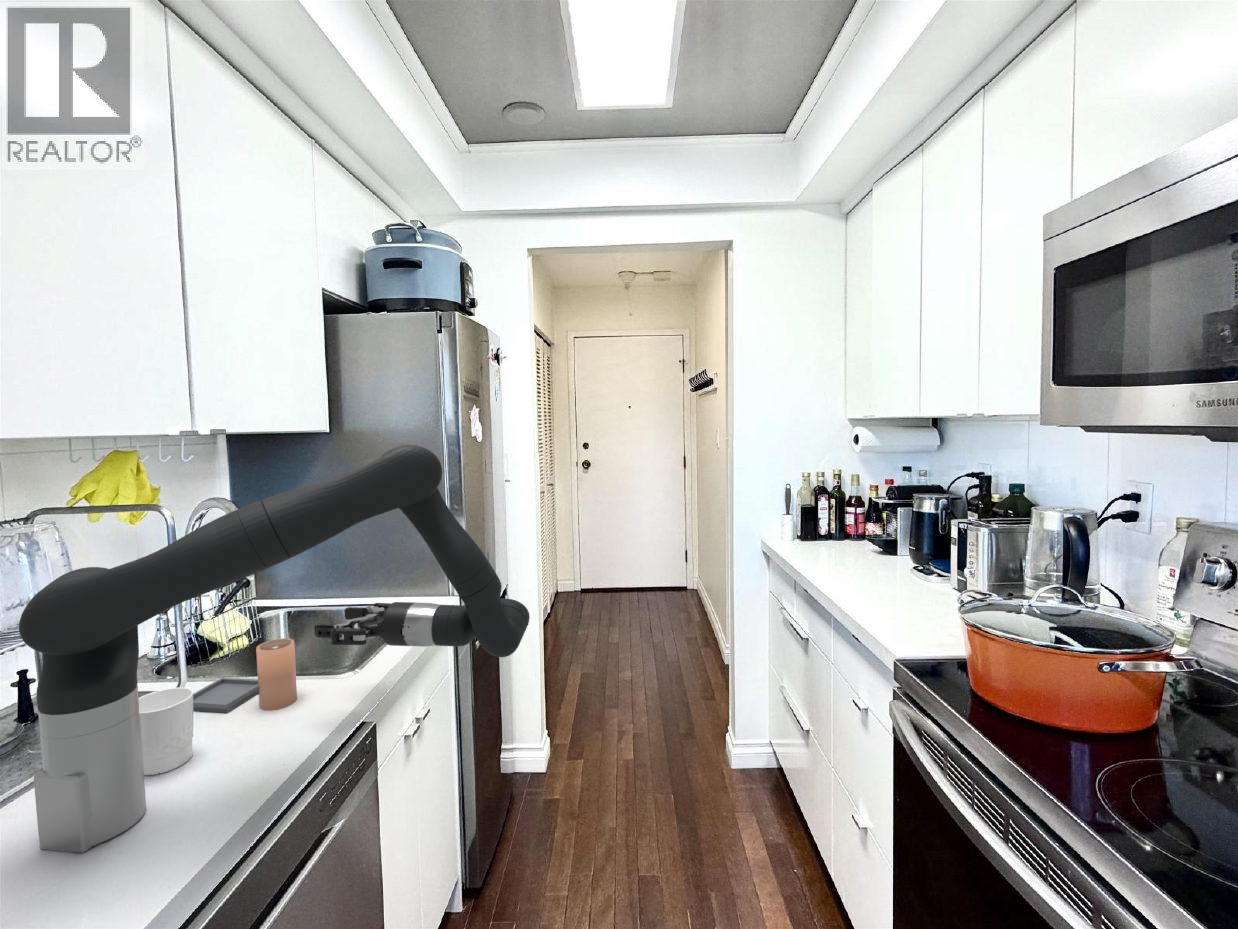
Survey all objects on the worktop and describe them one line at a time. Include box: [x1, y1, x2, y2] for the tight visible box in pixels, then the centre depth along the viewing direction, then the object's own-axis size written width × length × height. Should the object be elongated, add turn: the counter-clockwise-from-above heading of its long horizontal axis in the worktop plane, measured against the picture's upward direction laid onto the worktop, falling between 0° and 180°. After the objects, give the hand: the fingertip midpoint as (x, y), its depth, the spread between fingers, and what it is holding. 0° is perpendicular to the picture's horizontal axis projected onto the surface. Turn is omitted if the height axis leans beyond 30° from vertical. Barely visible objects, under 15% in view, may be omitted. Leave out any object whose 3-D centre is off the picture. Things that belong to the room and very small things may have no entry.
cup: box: [255, 638, 298, 711], centre depth 104 cm, size 6×6×11 cm
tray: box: [193, 677, 259, 714], centre depth 105 cm, size 10×10×2 cm
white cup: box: [138, 687, 195, 776], centre depth 85 cm, size 8×8×10 cm
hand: (331, 621), depth 102 cm, fingers open, 8 cm apart
